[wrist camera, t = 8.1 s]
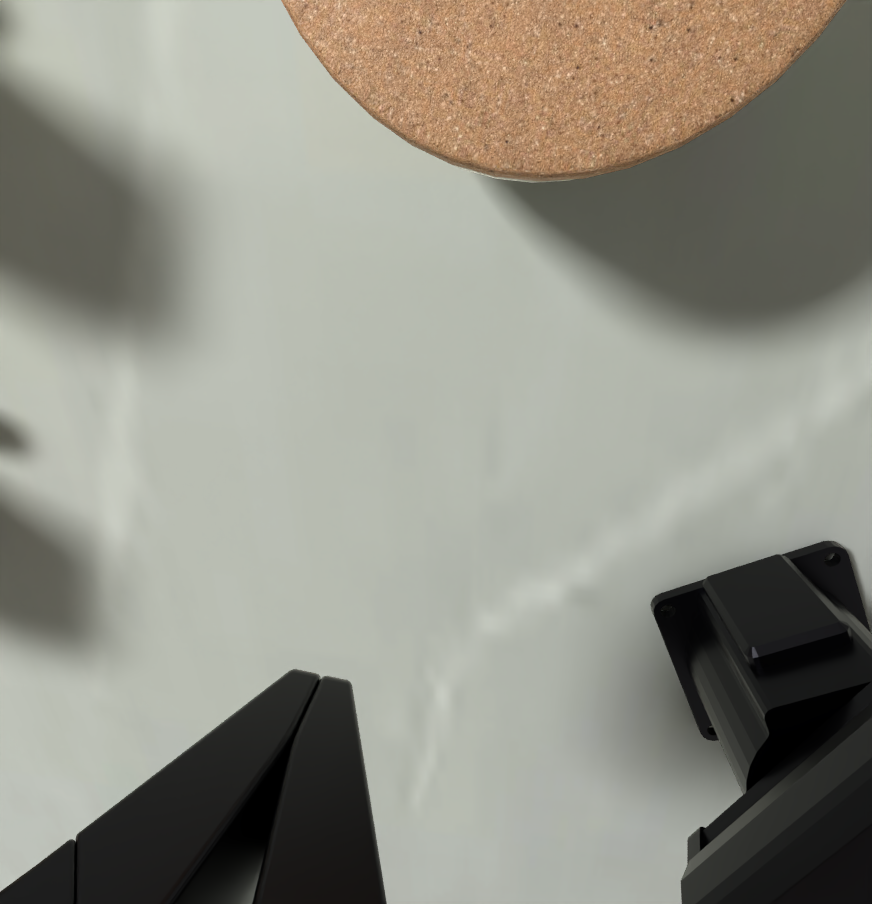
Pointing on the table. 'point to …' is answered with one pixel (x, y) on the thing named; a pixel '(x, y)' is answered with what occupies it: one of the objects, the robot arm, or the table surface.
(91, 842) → the robot arm
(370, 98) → the lidded jar
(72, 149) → the table surface
